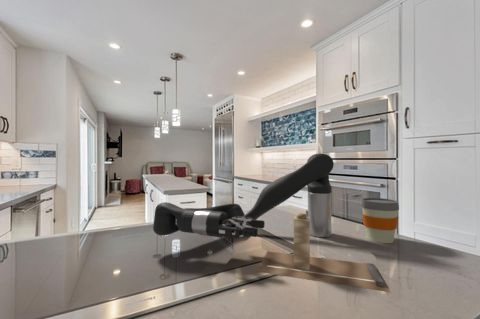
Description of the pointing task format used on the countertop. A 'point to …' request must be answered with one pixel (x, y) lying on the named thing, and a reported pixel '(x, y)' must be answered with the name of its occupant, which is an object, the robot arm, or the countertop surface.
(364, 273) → the walnut board
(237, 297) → the countertop surface
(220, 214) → the robot arm
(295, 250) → the wooden pepper mill
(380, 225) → the reusable coffee cup
